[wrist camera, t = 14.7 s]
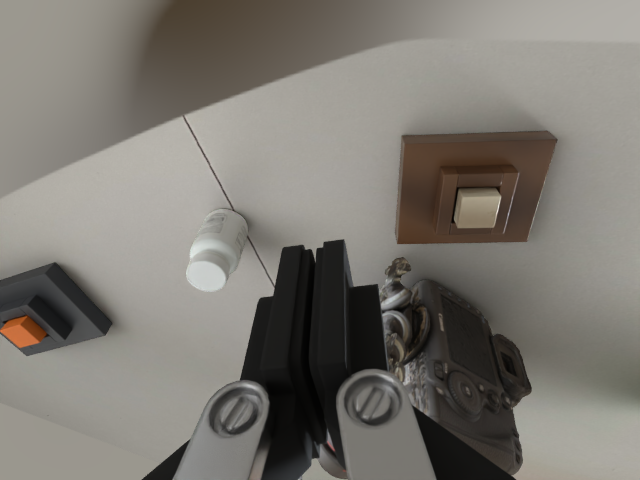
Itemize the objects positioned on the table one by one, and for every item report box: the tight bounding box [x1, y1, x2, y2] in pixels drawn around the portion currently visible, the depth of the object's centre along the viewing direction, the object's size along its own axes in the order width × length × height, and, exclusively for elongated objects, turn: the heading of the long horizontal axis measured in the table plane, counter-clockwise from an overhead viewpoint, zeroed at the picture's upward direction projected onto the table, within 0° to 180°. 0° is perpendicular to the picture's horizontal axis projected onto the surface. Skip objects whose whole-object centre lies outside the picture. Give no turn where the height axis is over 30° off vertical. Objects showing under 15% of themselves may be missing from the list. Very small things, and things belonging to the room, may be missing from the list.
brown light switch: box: [395, 131, 557, 244], centre depth 36 cm, size 10×12×4 cm
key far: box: [0, 315, 47, 348], centre depth 45 cm, size 3×3×2 cm
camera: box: [317, 257, 532, 479], centre depth 43 cm, size 25×18×18 cm
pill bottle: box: [186, 209, 248, 292], centre depth 38 cm, size 4×4×8 cm
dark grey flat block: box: [0, 263, 112, 356], centre depth 47 cm, size 10×12×4 cm
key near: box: [454, 187, 501, 228], centre depth 34 cm, size 3×3×2 cm
